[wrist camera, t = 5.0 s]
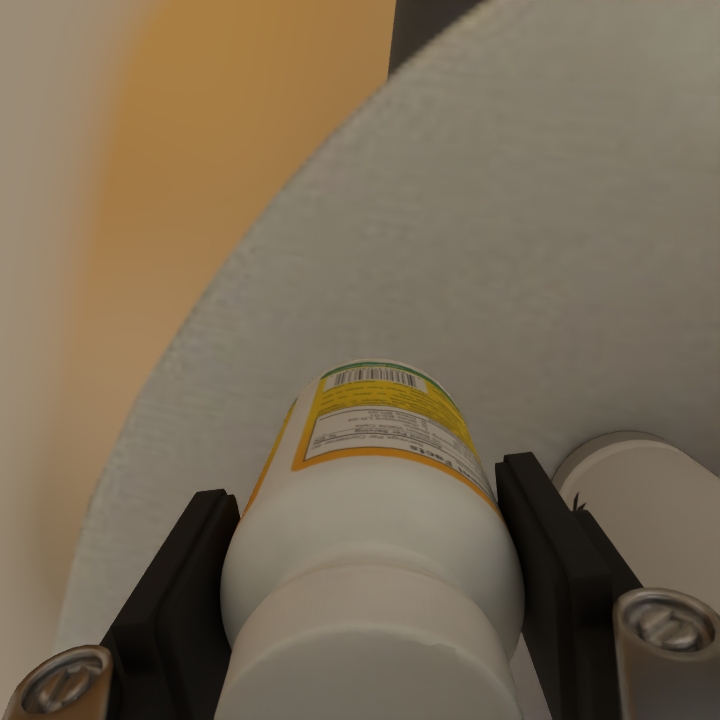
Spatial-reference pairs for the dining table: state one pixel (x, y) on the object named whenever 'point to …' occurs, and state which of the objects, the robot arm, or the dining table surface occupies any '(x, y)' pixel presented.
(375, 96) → the dining table surface
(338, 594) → the supplement bottle
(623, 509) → the travel mug
